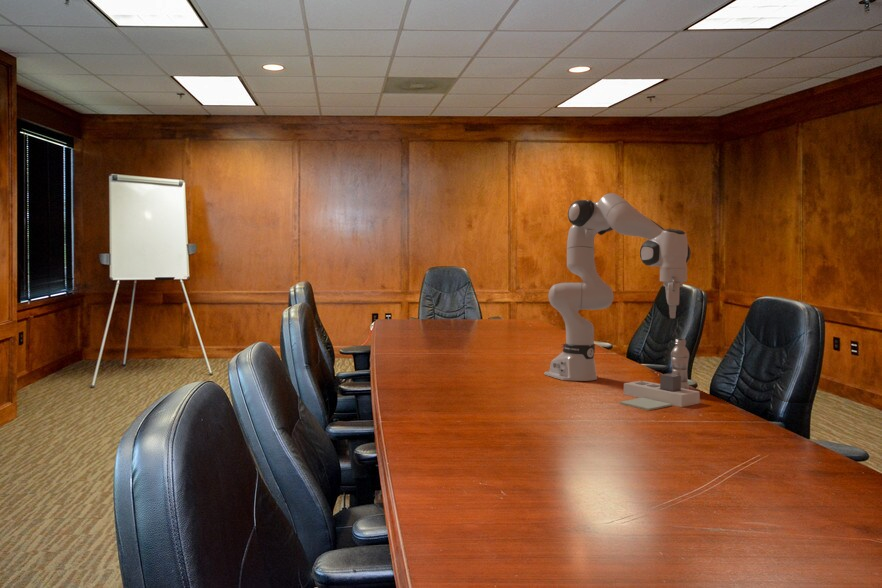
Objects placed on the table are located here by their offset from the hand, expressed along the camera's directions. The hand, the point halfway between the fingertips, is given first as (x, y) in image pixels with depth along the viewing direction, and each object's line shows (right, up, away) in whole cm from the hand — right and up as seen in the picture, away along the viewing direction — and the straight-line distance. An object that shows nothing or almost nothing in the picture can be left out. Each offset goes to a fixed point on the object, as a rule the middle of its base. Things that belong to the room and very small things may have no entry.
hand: (672, 317), depth 227 cm
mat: (-11, -29, -4) cm, 32 cm away
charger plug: (0, -29, +2) cm, 29 cm away
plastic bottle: (+7, -29, +13) cm, 32 cm away
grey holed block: (-2, -29, +5) cm, 29 cm away
